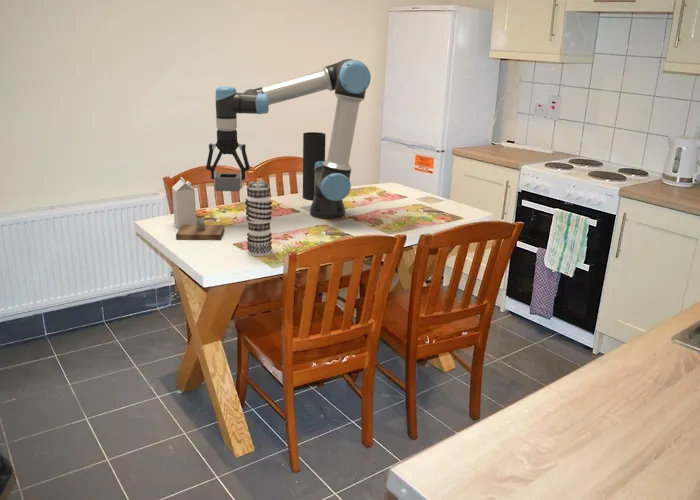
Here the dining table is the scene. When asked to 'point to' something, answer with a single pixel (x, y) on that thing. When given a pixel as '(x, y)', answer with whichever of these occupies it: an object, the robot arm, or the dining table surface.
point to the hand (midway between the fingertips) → (228, 187)
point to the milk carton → (184, 203)
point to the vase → (311, 160)
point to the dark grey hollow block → (227, 182)
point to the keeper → (200, 230)
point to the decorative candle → (258, 218)
